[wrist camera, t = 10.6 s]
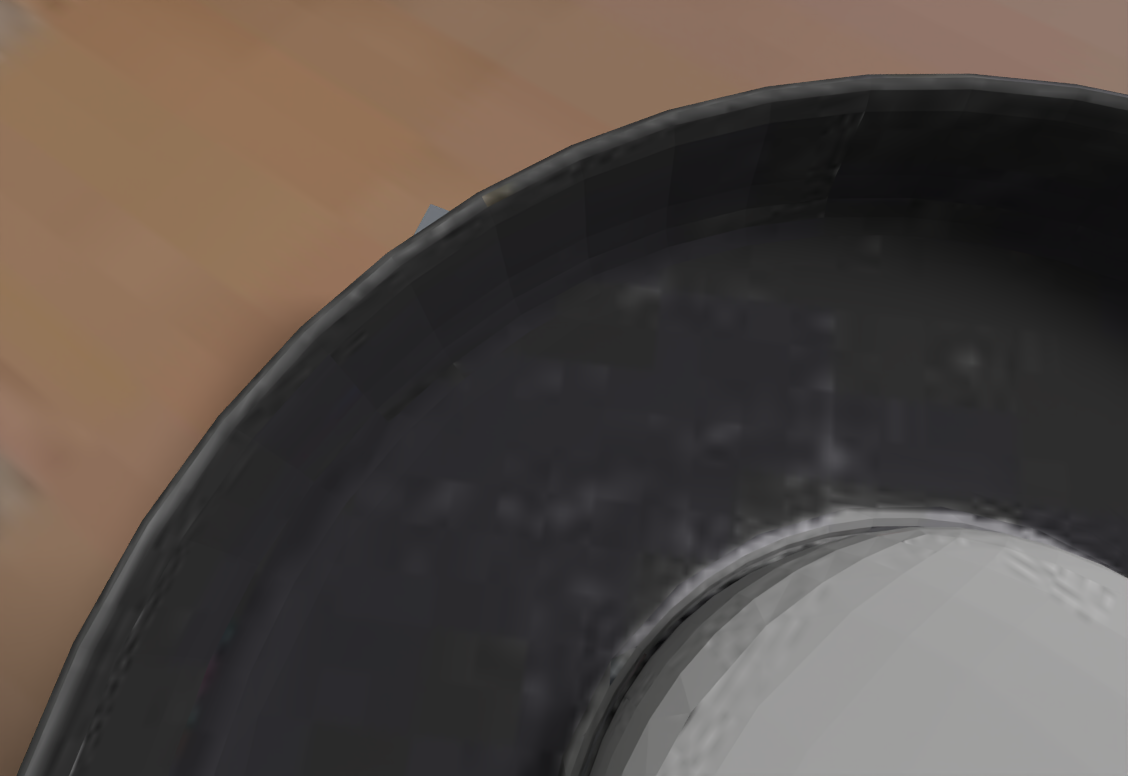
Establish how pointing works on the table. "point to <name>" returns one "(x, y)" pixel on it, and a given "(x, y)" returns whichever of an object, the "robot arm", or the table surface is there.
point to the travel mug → (671, 471)
